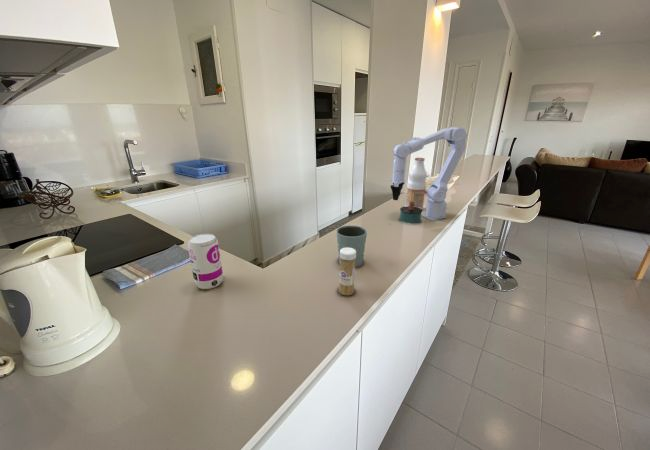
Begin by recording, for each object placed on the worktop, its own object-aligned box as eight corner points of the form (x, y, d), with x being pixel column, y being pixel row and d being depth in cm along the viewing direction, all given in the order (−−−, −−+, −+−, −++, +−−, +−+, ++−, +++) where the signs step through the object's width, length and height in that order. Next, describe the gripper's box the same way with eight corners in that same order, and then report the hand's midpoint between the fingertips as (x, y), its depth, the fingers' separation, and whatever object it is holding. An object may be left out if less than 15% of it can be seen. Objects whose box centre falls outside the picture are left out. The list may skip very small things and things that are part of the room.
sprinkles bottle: (336, 294, 80) (337, 252, 75) (341, 285, 84) (342, 245, 79) (351, 297, 78) (353, 255, 74) (356, 289, 82) (358, 248, 77)
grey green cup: (370, 261, 98) (372, 230, 94) (353, 272, 91) (354, 239, 87) (348, 252, 104) (349, 223, 100) (330, 262, 98) (330, 230, 93)
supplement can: (229, 278, 88) (223, 234, 82) (211, 292, 80) (203, 246, 75) (208, 273, 90) (201, 231, 85) (189, 287, 83) (179, 242, 78)
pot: (410, 216, 143) (411, 206, 141) (424, 222, 135) (426, 212, 133) (395, 219, 139) (396, 208, 137) (408, 225, 131) (410, 214, 129)
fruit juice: (401, 208, 155) (407, 158, 145) (410, 205, 161) (416, 156, 151) (417, 212, 149) (423, 159, 139) (425, 209, 155) (432, 158, 145)
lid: (411, 207, 142) (413, 197, 140) (426, 213, 133) (428, 203, 131) (395, 210, 138) (396, 200, 136) (409, 216, 129) (411, 205, 127)
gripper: (392, 167, 140) (390, 193, 145) (388, 172, 128) (386, 201, 133) (406, 168, 138) (403, 194, 143) (404, 173, 125) (401, 202, 130)
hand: (396, 198), depth 138 cm, fingers open, 7 cm apart
